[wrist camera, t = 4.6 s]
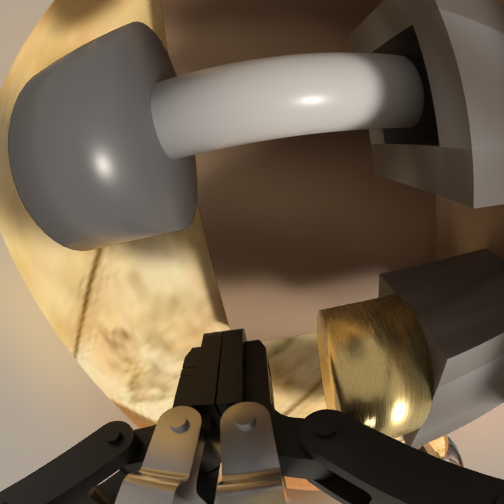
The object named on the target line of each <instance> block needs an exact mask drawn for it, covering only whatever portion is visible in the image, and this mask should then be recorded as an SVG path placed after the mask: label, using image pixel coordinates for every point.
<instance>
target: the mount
mask: <svg viewBox="0 0 504 504" xmlns="http://www.w3.org/2000/svg"><path fill="white" fill-rule="evenodd" d="M161 7H162V14H163V22H164V29H165V36H166V42H167V49H168V55H169V58H170V60H171V62H172V65H173V67H174V70H175V72H176V75H177V76H180V75H183V74H187V73H191V72H195V71H199V70H203V69H207V68H211V67H216V66H220V65H225V64H230V63H235V62H241V61H247V60H253V59H260V58H267V57H275V56H284V55H295V54H308V53H334V52H354V53H378V54H392V55H402V56H405V57H406V58H408V59H409V60H410V61H411V62H412V63H413V64H414V66H415V67H416V69H417V71H418V73H419V75H420V78H421V81H422V85H423V90H424V107H423V112H422V116H421V118H420V120H419V122H418V123H417V124H416V125H415V126H413V127H411V128H380V129H361V130H347V131H336V132H325V133H316V134H307V135H299V136H292V137H285V138H278V139H272V140H265V141H259V142H254V143H248V144H243V145H237V146H232V147H227V148H222V149H218V150H213V151H209V152H204V153H200V154H196V155H195V157H196V167H197V203H198V207H199V212H200V216H201V220H202V224H203V228H204V233H205V237H206V241H207V245H208V249H209V253H210V257H211V261H212V265H213V268H214V272H215V276H216V280H217V284H218V288H219V291H220V295H221V299H222V302H223V306H224V310H225V313H226V317H227V321H228V324H229V328H230V330H235V329H242V328H244V330H245V334H246V338H247V341H252V340H260V341H266V340H273V339H280V338H286V337H292V336H298V335H303V334H309V333H314V332H317V313H318V311H319V310H321V309H327V308H332V307H337V306H342V305H346V304H351V303H356V302H361V301H365V300H370V299H374V298H378V297H383V296H387V295H396V296H398V297H400V298H401V299H403V300H404V301H405V302H406V303H407V304H408V305H409V307H410V308H411V309H412V311H413V312H414V314H415V315H416V317H417V319H418V321H419V323H420V325H421V327H422V330H423V332H424V335H425V338H426V341H427V344H428V348H429V352H430V357H431V362H432V370H433V397H432V404H431V408H430V412H429V414H428V417H427V419H426V421H425V423H424V424H423V425H422V426H421V427H420V428H419V429H418V430H415V431H413V432H410V433H407V434H405V435H402V436H403V439H404V441H405V444H407V445H409V446H411V447H413V448H417V447H419V446H422V445H424V444H426V443H429V442H431V441H433V440H436V439H438V438H440V437H442V436H444V435H446V434H448V433H451V432H452V431H455V430H457V429H458V428H460V427H462V426H464V425H466V424H468V423H470V422H472V421H473V420H475V419H477V418H478V417H480V416H482V415H484V414H485V413H487V412H489V411H490V410H492V409H493V408H495V407H497V406H498V405H500V404H501V403H503V402H504V0H161Z"/></svg>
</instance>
